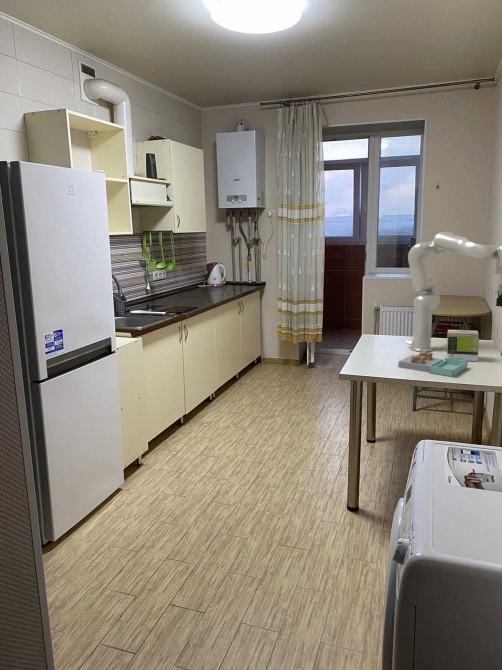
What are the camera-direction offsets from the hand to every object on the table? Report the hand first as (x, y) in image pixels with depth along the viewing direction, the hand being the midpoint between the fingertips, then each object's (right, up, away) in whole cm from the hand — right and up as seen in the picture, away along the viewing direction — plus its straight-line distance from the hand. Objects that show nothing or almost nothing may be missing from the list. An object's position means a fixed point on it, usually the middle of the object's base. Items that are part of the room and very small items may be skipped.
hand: (500, 305), depth 260 cm
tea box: (-15, -28, +13) cm, 34 cm away
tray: (-30, -32, -9) cm, 45 cm away
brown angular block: (-37, -27, +2) cm, 46 cm away
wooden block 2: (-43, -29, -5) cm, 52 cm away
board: (-40, -31, -1) cm, 51 cm away
